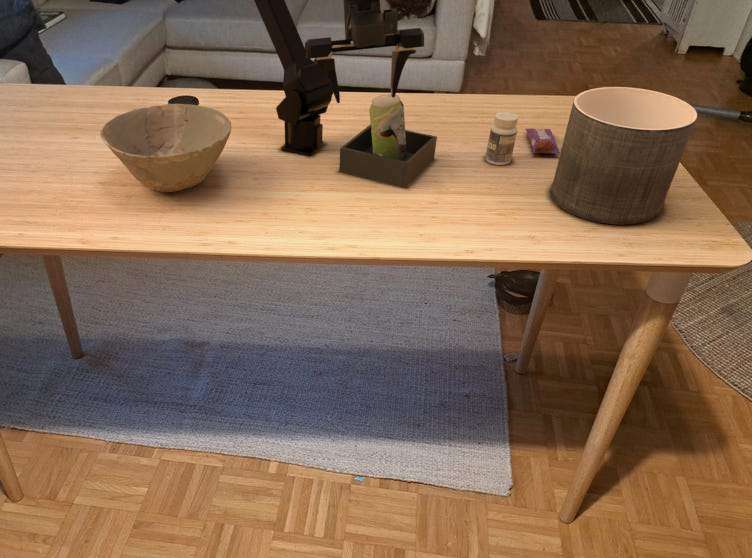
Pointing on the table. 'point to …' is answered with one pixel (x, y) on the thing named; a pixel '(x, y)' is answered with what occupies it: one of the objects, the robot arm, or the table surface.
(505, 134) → the pill bottle
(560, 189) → the planter
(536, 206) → the table surface
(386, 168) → the square storage tray
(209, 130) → the ceramic bowl
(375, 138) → the beverage can
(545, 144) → the snack package
